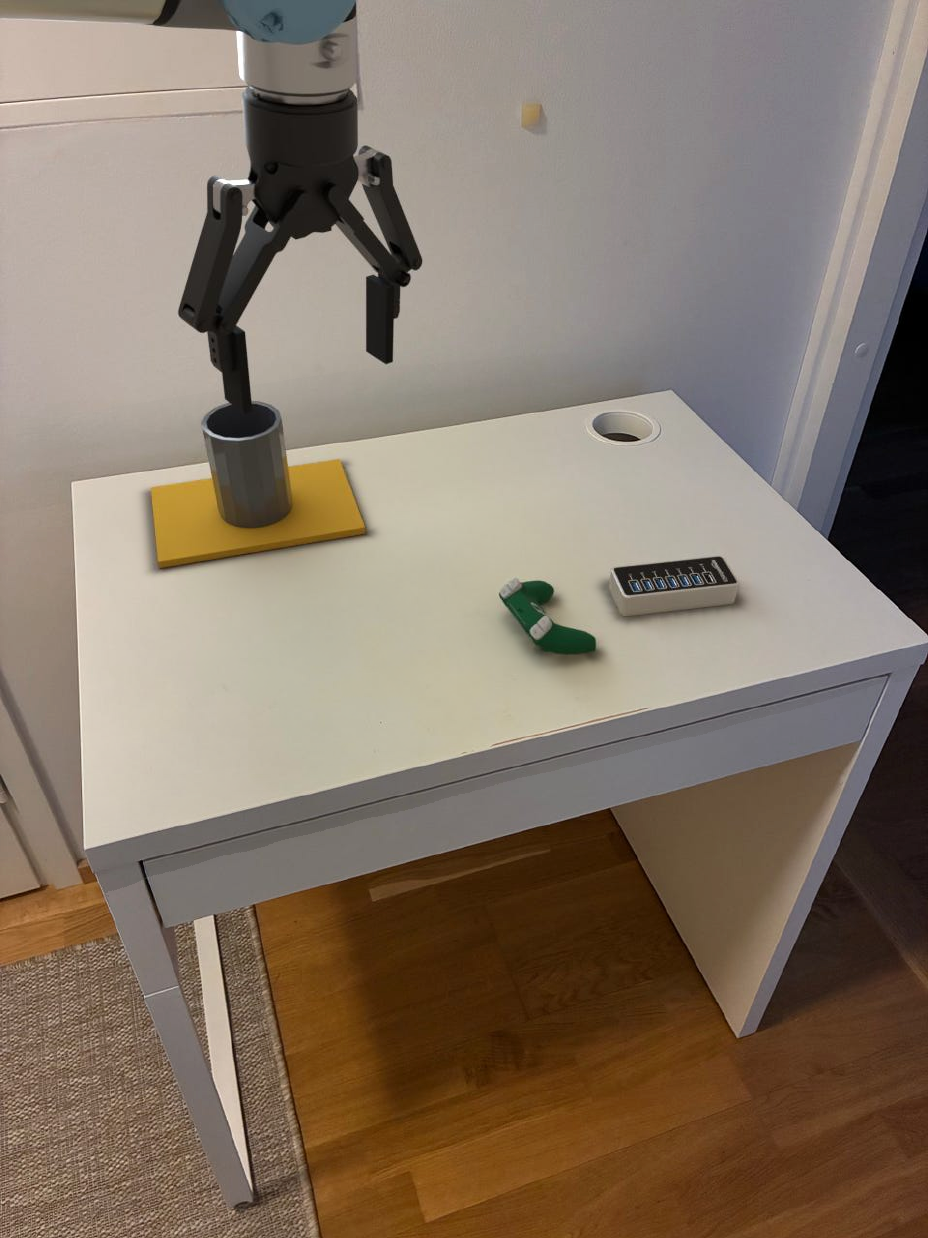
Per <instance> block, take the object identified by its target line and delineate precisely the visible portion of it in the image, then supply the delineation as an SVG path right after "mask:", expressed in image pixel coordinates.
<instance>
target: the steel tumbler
mask: <svg viewBox="0 0 928 1238" xmlns="http://www.w3.org/2000/svg"><path fill="white" fill-rule="evenodd" d="M251 401H252V412H249V413H246V414H243V413H242V412H240V411H239V410H238V409H237V408H236V407H234V406H233V405H232V404H231V403H229V402H227V403H224V404H221V405H218V406H215V407H214V408H212V409H211V410H209V411H207V412H206V413H205V414H204V416H203V417H202V419H201V422H200V423H201V429H202V433H203V439H204V444H205V450H206V454H207V459H208V465H209V470H210V475H211V478H212V481H213V486H214V491H215V496H216V501H217V506H218V511H219V514H220V516H221V518H222V519H223V520H224V521H225V522H227V523H229V524H231V525H233V526H236V527H241V528H260V527H265V526H269V525H272V524H274V523H277V522H279V521H280V520H282V519H283V518H285V517H286V516H287V515H288V514H289V512H290V511H291V509H292V492H291V485H290V477H289V470H288V467H289V463H288V455H287V449H286V441H285V440H286V439H285V433H284V425H283V419H282V415H281V411H280V410H279V409H277V408H276V407H275V406H274V405H272V404H269V403H266V402H263V401H260V400H251Z"/></svg>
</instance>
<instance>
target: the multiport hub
mask: <svg viewBox="0 0 928 1238" xmlns="http://www.w3.org/2000/svg"><path fill="white" fill-rule="evenodd" d="M739 586H740V581H739V580H738V578H737V576H736V575H735V573H734V571H733V570H732V569H731V567H730V565H729V563H728V562H727V559H726V558H725V557H723V556H722V555H713V556H705V557H704V556H703V557H696V558H686V559H676V560H667V561H657V562H650V563H639V564H632V565H631V564H630V565H621V566H614V567H612V568H611V569H610V575H609V583H608V590H609V594H610V595H611V597H612V599H613V602H614V604H615V606H616V608H617V611H618V612H619V614H620V616H622V617H633V616H641V615H648V614H649V615H650V614H658V613H667V612H675V611H685V610H692V609H701V608H702V609H703V608H708V607H709V608H710V607H720V606H727V605H733V604H734V603H735V602H736V598H737V594H738V590H739Z"/></svg>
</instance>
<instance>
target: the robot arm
mask: <svg viewBox="0 0 928 1238" xmlns="http://www.w3.org/2000/svg"><path fill="white" fill-rule="evenodd" d="M357 18H358V15H357V0H0V20H19V21H20V20H23V21H49V22H50V21H51V22H72V23H73V22H74V23H101V24H124V25H125V24H126V25H127V24H128V25H143V26H145V25H146V26H154V27H160V28H161V27H163V28H174V29H175V28H177V29H178V28H179V29H202V30H220V31H221V30H222V31H223V30H225V31H231V32H236V43H237V58H238V73H239V78H240V80H242V81H243V83H245V84H246V85H247V86H246V87H245V88H244V90H243V92H242V94H241V103H242V104H241V105H242V116H243V129H244V142H245V147H246V149H247V153H248V159H249V170H248V174H247V177H246V179H236V180H235V179H234V180H226V179H224V178H222V177H220V176H219V175H212V176H211V177H209V178H208V180H207V182H206V214H205V218H204V221H203V225H202V228H201V231H200V235H199V238H198V242H197V245H196V248H195V252H194V255H193V259H192V262H191V265H190V268H189V272H188V275H187V279H186V282H185V286H184V289H183V293H182V296H181V300H180V302H179V306H178V308H177V309H178V310H177V315H178V317H179V318H180V319H181V320H182V321H184V322H185V323H186V324H187V325H189V326H190V327H191V328H193V329H194V330H195V331H196V332H198V333H200V334H204V333H207V342H208V348H209V359H210V362H211V364H212V366H213V367H214V368H215V369H216V370H218V371H219V372H220V373H221V377H222V384H223V386H222V387H223V392H224V393H223V394H224V400H226V401H227V403H231V404H232V405H233V406H234V407H236V408H237V409H238V410H239V411H240V412H242V413H243V414H246V413H249V412H252V401H253V400H252V390H251V381H250V370H249V369H250V368H249V360H248V359H249V358H248V357H249V356H248V348H247V338H246V336H247V335H246V331H245V330H244V329H242V328H240V327H239V326H238V325H237V324H238V323H239V321H240V319H241V317H242V315H243V314H244V312H245V310H246V309H247V307H248V304H249V303H250V301H251V300H252V298H253V296H254V294H255V293H256V290H257V289H258V287H259V285H260V283H261V281H262V280H263V278H264V277H265V274H266V272H267V271H268V269H269V267H270V266H271V264H272V262H273V260H274V258H275V257H276V255H277V254H278V253H281V252H283V251H284V250H285V248H286V246H287V245H288V243H289V241H290V240H291V238H292V239H294V240H295V241H297V240H301V239H304V238H306V237H308V236H310V235H312V234H314V233H319V234H320V233H321V234H322V233H323V234H324V233H328V232H332V231H333V230H332V228H333V227H334V226H336V227H337V228H338V230H339V231H340V232H342V234H343V236H345V237H346V239H347V240H348V242H350V244H351V245H352V246H353V247H354V248H355V249H356V250H357V252H359V254H360V255H361V256H362V257H363V258H364V260H365V261H366V262H367V263H368V264H369V266H370V267H371V268H372V269H373V271H375V272H376V273H377V275H375V274H370V275H367V276H365V352H366V353H368V354H369V355H370V356H373V357H374V358H375V359H377V360H378V361H379V362H381V363H383V364H385V365H388V364H391V363H393V362H394V333H395V332H394V330H395V329H394V326H395V319H398V318H399V315H400V312H401V288H406V287H408V286H409V284H410V283H411V279H412V276H411V273H410V271H411V270H413V271H418V270H419V269H420V268H421V267H422V265H423V257H422V254H421V252H420V249H419V247H418V244H417V241H416V239H415V237H414V234H413V232H412V228H411V227H410V226H411V225H410V224H409V222H408V219H407V217H406V214H405V211H404V209H403V206H402V203H401V201H400V199H399V196H398V194H397V191H396V188H395V186H394V176H393V175H394V174H393V162H392V158H391V156H390V155H388V154H385V153H384V152H382V151H381V150H378V149H375V148H373V147H371V146H369V145H363V146H361V147H360V149H359V150H358V146H359V122H358V121H359V117H358V115H359V113H358V112H359V111H358V106H359V105H358V103H359V100H358V97H357V95H355V93H354V91H353V90H352V88H353V87H354V86H355V84H356V83H357V81H358V19H357ZM357 150H358V153H357V155H355V154H356V152H357ZM354 155H355V156H354ZM358 182H359V183H361V186H362V189H363V191H364V194H365V196H366V198H367V201H368V203H369V205H370V208H371V210H372V213H373V215H374V217H375V220H376V221H377V225H378V227H379V229H380V231H381V233H382V236H383V239H384V241H385V243H386V245H387V248H388V249H387V248H386V246H385V245H384V243H383V242H381V240H380V239H379V238H378V236H377V235H376V234H375V232H373V230H372V229H371V228H370V226H369V225H368V224H367V223H366V222H365V218H364V216H363V215H362V214H361V212H360V211H359V210H358V209H357V207H356V206H355V205H354V204H353V202H352V201H351V200H350V197H351V195H352V193H353V191H354V189H355V187H356V185H357V183H358ZM250 202H252V203H253V204H254V207H253V209H252V211H251V213H250V214H249V208H248V205H249V204H250ZM248 214H249V216H248ZM246 216H248V218H247V220H246V222H245V224H244V235H243V236H242V238H241V240H240V242H239V244H238V241H239V237H240V233H241V229H242V225H243V217H246ZM268 223H269V224H270V226H271V227H272V229H271V231H267V230H266V228H267V225H268ZM237 244H238V245H237Z"/></svg>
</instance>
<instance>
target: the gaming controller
mask: <svg viewBox="0 0 928 1238" xmlns="http://www.w3.org/2000/svg"><path fill="white" fill-rule="evenodd" d="M554 593H555V589H554V587H553V586H552V585H551V584H550V583H548V582H547V581H544V580H540V579H539V580H537V579H536V580H528V581H523V582H521V581H520V579H518V577H514V578H512V579H511V580H509V581H507V583H506V584H504V585H503V586H502V587H501V588H500V591H499V592H498V596H499V599H500V600H501V602H502V603H503V605H504V606H505V607H506V608H507V610H508V611H509V612H510V613H511V615H512V616H513V617H514V619H515V620H516V621H517V623H518V625H519V626H521V628H522V629H523V631H524V632H525V634H526V635H527V636H528V637H529V639H531V641H532V642H533V644H534V645H535V646H538V647H539V648H540V650H541V651H544V652H545V653H551V654H556V655H565V656H567V655H571V656H572V655H583V654H590V653H593V652H596V650H597V639H596V637H595V635H592V634H591V633H589V632H587V631H585V630H581V629H577V628H574V627H570V626H564V625H562V624H559V623H556V622H554V621H553V619H551V617H550V616H549V615H548V614H547V612H546V611H545V609H544V608H542V606H543V605H545V604H547V603H548V602H549V601H550V600H551V599H552V598H553V596H554Z"/></svg>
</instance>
